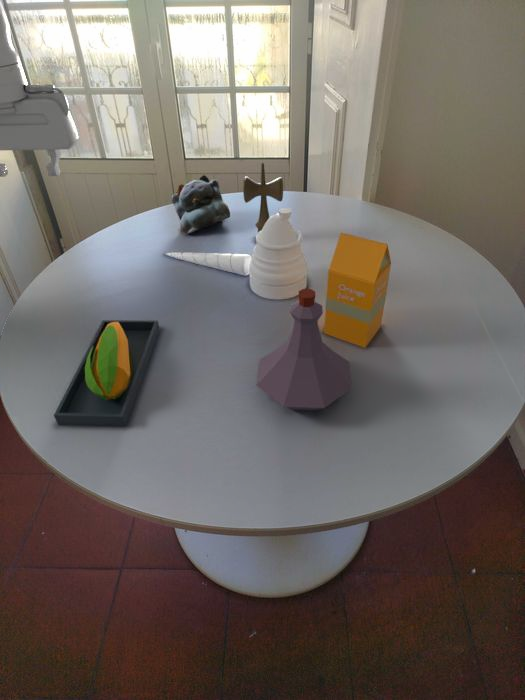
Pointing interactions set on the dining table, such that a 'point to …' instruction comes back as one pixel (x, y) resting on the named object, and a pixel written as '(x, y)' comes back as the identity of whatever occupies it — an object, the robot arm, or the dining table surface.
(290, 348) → the flask
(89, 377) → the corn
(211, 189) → the lucky cat figurine
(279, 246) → the honey pot
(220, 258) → the unicorn horn
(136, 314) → the dining table surface
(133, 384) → the tray
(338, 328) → the orange juice
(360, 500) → the dining table surface
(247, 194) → the kendama
